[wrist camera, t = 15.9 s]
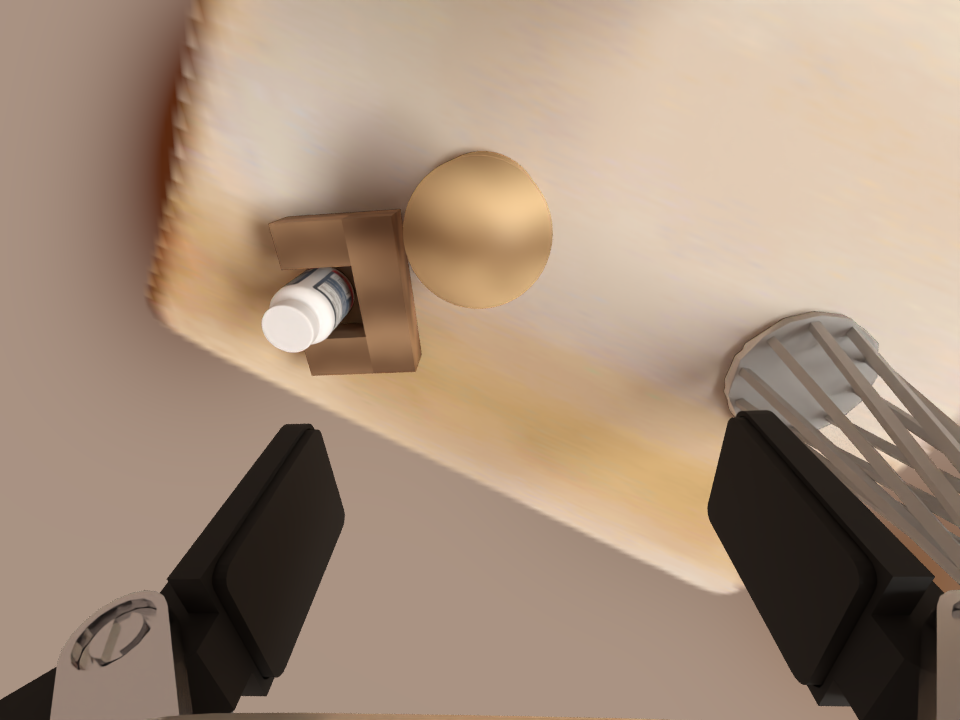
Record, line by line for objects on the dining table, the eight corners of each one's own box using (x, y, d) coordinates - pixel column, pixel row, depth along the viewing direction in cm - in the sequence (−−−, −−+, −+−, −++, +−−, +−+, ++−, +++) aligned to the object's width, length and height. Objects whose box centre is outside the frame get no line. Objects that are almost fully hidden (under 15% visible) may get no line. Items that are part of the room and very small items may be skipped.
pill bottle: (299, 311, 41) (252, 352, 34) (300, 259, 39) (249, 289, 31) (353, 323, 42) (319, 366, 34) (358, 272, 39) (322, 306, 32)
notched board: (287, 216, 37) (268, 223, 34) (400, 209, 37) (390, 215, 33) (325, 358, 44) (311, 375, 41) (421, 354, 43) (415, 371, 40)
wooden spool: (416, 155, 35) (391, 161, 27) (541, 146, 34) (553, 149, 26) (431, 276, 39) (413, 311, 31) (541, 270, 38) (551, 305, 31)
